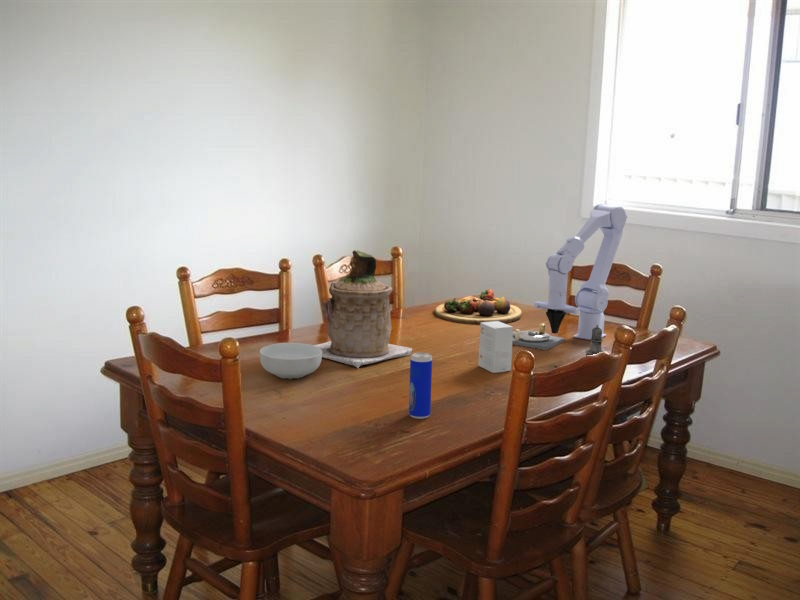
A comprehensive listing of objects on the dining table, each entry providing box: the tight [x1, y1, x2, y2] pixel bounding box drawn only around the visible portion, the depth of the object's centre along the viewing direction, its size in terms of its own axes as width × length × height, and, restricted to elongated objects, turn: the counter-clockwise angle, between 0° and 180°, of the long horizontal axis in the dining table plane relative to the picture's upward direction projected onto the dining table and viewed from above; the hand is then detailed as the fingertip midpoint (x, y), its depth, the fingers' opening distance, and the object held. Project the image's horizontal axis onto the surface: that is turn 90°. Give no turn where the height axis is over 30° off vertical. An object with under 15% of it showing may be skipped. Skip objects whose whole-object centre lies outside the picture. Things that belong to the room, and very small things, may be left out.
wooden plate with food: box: [434, 289, 523, 325], centre depth 311 cm, size 32×32×8 cm
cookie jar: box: [312, 249, 413, 369], centre depth 252 cm, size 25×25×32 cm
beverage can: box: [408, 352, 433, 420], centre depth 201 cm, size 5×5×15 cm
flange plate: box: [513, 323, 551, 342], centre depth 274 cm, size 11×13×4 cm
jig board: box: [512, 328, 565, 351], centre depth 274 cm, size 14×16×5 cm
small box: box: [477, 321, 514, 374], centre depth 242 cm, size 8×6×13 cm
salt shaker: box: [584, 325, 604, 357], centre depth 249 cm, size 6×6×12 cm
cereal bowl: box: [259, 342, 323, 380], centre depth 232 cm, size 17×17×7 cm
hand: (554, 332), depth 273 cm, fingers closed
